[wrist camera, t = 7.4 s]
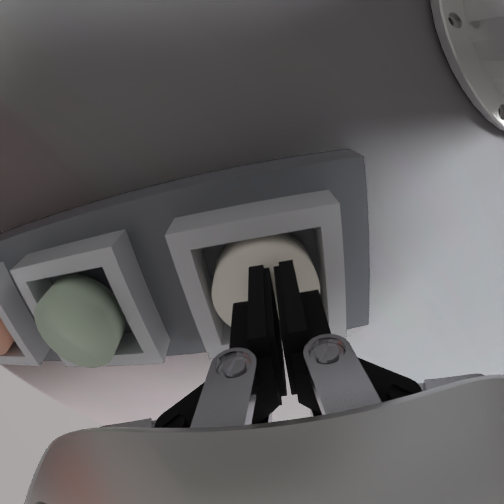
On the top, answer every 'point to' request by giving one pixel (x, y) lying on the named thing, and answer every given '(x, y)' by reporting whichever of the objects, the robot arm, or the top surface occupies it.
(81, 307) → the sage button
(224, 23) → the top surface
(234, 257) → the cream button
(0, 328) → the terracotta button
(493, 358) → the top surface
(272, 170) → the button panel
